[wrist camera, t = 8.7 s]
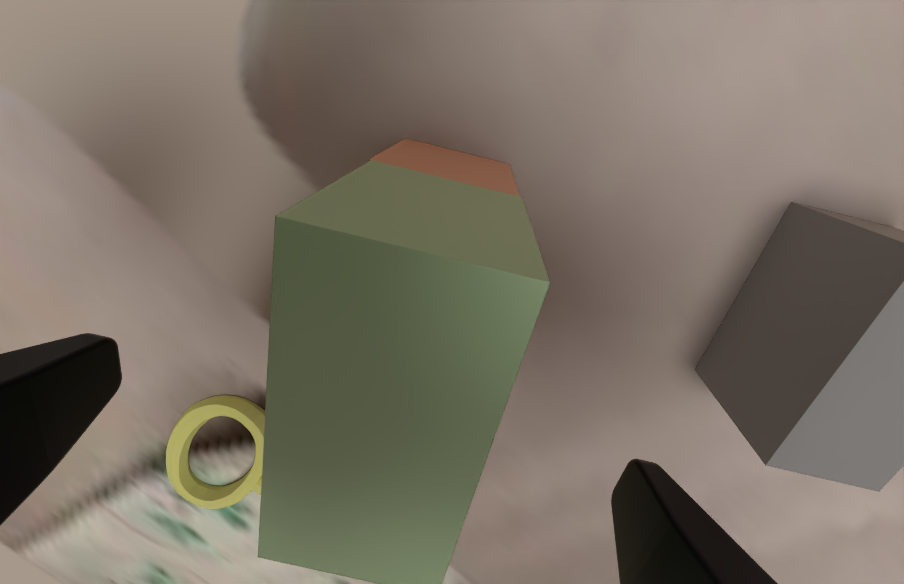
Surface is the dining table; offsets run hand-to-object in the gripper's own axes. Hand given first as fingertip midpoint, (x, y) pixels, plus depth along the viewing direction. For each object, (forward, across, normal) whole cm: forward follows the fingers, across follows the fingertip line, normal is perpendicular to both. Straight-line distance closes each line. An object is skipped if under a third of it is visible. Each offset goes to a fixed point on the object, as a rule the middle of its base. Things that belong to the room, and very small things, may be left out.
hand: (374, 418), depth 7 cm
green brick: (+4, 0, 0) cm, 4 cm away
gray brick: (+10, -13, -1) cm, 16 cm away
